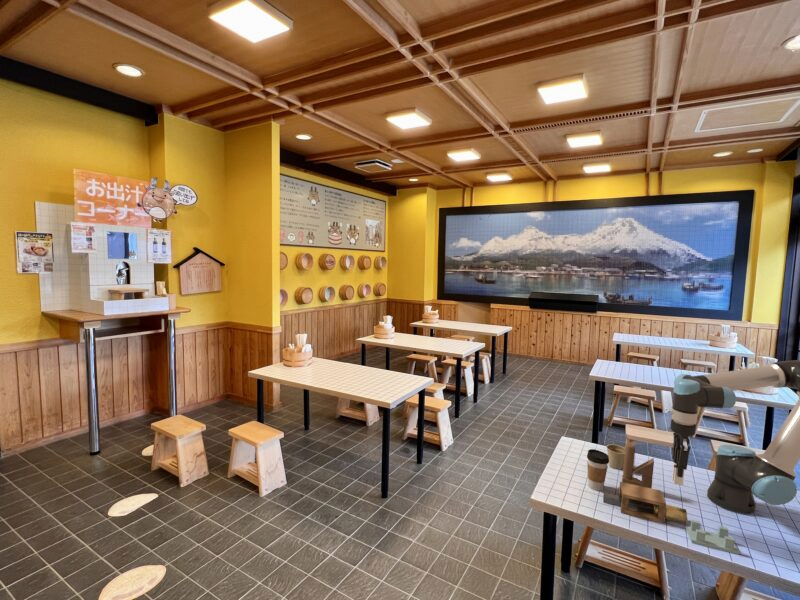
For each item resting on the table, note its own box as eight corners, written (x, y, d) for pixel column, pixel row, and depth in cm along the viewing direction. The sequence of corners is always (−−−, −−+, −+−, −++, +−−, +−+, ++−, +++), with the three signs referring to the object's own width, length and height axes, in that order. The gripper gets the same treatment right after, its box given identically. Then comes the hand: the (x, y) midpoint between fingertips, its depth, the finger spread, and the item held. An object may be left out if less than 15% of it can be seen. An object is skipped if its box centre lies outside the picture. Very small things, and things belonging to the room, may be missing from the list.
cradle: (729, 539, 139) (731, 528, 139) (738, 554, 132) (740, 542, 131) (685, 528, 144) (686, 517, 144) (691, 542, 137) (692, 531, 136)
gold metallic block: (683, 514, 151) (685, 506, 148) (685, 526, 147) (687, 518, 144) (652, 506, 155) (654, 498, 152) (653, 518, 151) (655, 510, 149)
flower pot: (627, 465, 189) (629, 447, 189) (626, 473, 181) (628, 455, 181) (605, 459, 194) (607, 442, 194) (603, 467, 186) (605, 449, 186)
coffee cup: (587, 479, 176) (590, 446, 174) (608, 486, 170) (611, 453, 169) (582, 487, 169) (584, 453, 168) (604, 495, 164) (607, 460, 162)
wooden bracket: (651, 494, 166) (655, 452, 164) (621, 486, 171) (625, 445, 169) (650, 489, 169) (654, 449, 167) (621, 482, 174) (625, 442, 173)
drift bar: (652, 511, 154) (652, 504, 154) (653, 516, 152) (653, 508, 151) (603, 499, 161) (603, 492, 161) (603, 503, 159) (603, 496, 158)
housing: (658, 508, 155) (660, 490, 155) (664, 523, 147) (666, 503, 146) (618, 499, 161) (620, 481, 160) (621, 512, 152) (622, 493, 152)
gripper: (666, 413, 154) (661, 471, 156) (676, 427, 141) (670, 490, 143) (690, 416, 151) (684, 475, 154) (701, 431, 138) (695, 495, 140)
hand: (677, 482), depth 148 cm, fingers open, 1 cm apart
